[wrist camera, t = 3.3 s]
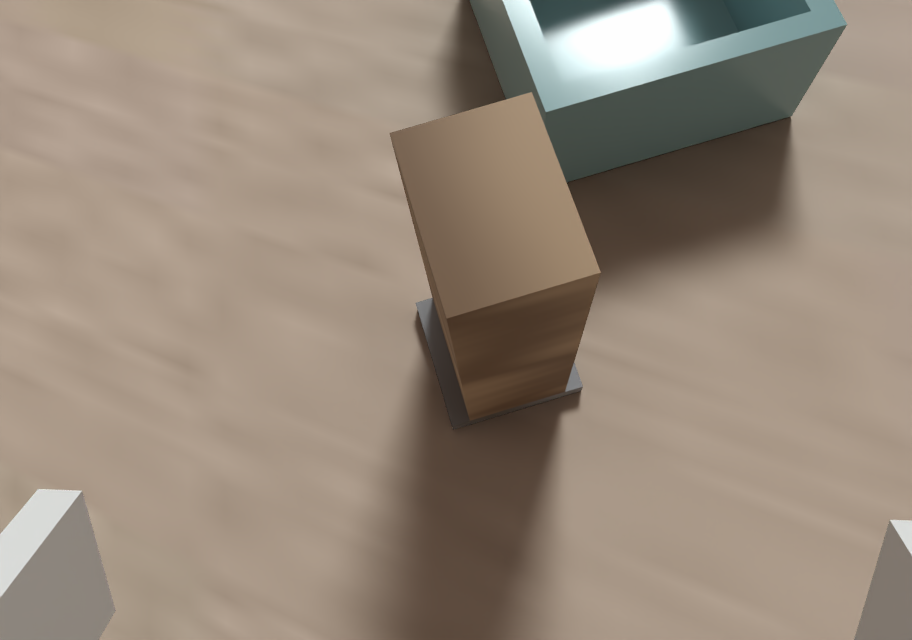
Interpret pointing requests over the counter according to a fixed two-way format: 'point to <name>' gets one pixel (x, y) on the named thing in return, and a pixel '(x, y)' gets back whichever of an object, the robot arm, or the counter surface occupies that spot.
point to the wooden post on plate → (497, 258)
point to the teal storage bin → (654, 69)
